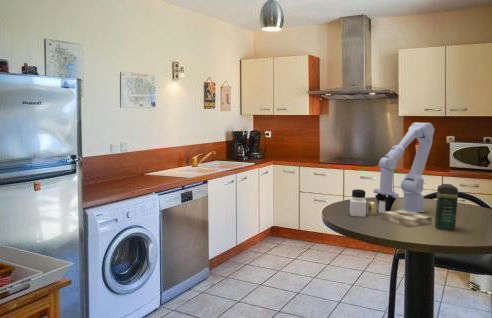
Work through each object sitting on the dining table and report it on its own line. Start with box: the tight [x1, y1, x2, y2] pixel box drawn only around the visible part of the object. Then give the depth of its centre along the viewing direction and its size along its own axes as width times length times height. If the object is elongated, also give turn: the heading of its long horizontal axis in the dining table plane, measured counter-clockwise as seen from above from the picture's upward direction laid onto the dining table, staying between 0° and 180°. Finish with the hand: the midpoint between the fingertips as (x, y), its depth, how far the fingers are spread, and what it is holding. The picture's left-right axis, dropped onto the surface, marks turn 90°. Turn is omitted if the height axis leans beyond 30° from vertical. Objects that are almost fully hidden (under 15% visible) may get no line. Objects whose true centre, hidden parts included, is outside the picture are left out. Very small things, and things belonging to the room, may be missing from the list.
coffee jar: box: [434, 183, 459, 231], centre depth 186 cm, size 10×8×19 cm
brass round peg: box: [367, 200, 378, 216], centre depth 209 cm, size 4×4×6 cm
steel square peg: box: [378, 200, 387, 214], centre depth 213 cm, size 4×4×6 cm
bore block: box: [380, 209, 433, 228], centre depth 197 cm, size 14×16×3 cm
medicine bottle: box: [349, 188, 368, 218], centre depth 207 cm, size 7×7×12 cm
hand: (384, 210), depth 213 cm, fingers closed on steel square peg, 4 cm apart
